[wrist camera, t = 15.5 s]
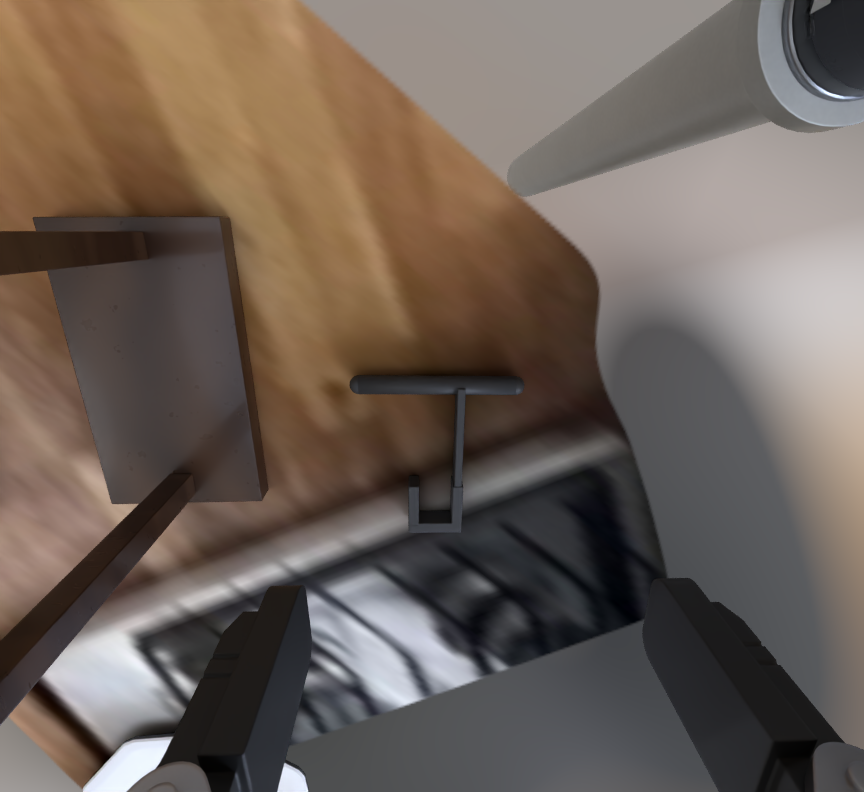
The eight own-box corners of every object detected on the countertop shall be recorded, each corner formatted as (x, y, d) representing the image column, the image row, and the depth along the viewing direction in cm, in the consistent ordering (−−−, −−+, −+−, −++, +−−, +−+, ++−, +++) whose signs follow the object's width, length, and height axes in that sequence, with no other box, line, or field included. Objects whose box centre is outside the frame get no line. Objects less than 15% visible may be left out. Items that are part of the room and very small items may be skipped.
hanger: (527, 380, 29) (514, 532, 33) (522, 373, 30) (509, 519, 34) (347, 379, 28) (354, 533, 32) (351, 371, 30) (357, 520, 34)
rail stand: (230, 217, 26) (-145, 188, 9) (268, 489, 33) (93, 796, 15) (52, 217, 26) (-705, 188, 8) (124, 492, 32) (-229, 809, 15)
